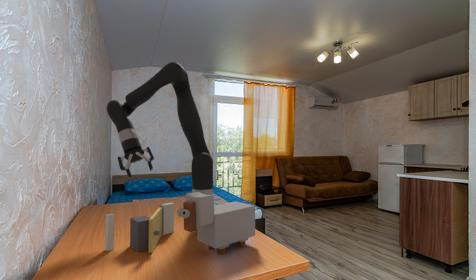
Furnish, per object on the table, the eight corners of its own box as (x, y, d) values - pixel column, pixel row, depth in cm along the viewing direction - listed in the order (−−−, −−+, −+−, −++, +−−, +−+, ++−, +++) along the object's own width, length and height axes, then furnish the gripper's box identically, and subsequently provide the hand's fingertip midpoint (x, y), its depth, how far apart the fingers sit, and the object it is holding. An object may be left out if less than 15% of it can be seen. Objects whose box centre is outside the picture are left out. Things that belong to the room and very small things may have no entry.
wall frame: (171, 231, 103) (171, 202, 104) (173, 232, 102) (174, 203, 102) (105, 249, 84) (105, 214, 84) (107, 251, 83) (108, 215, 83)
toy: (170, 257, 78) (171, 194, 78) (236, 237, 96) (235, 186, 97) (188, 270, 70) (188, 199, 70) (255, 244, 88) (255, 189, 89)
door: (158, 235, 97) (159, 207, 98) (166, 234, 98) (166, 207, 98) (148, 252, 81) (149, 219, 81) (157, 252, 81) (158, 218, 81)
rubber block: (143, 242, 90) (144, 215, 91) (151, 247, 85) (152, 219, 86) (129, 246, 87) (130, 218, 87) (137, 252, 82) (138, 222, 82)
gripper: (110, 143, 103) (122, 178, 100) (144, 132, 108) (157, 166, 105) (115, 148, 110) (126, 181, 107) (146, 138, 115) (158, 169, 112)
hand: (141, 173), depth 106 cm, fingers open, 8 cm apart
